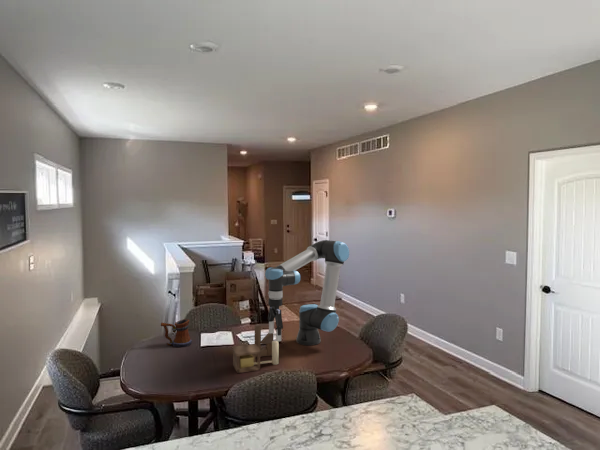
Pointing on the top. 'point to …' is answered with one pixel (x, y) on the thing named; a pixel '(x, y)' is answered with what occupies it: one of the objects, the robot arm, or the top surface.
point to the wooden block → (263, 341)
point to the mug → (179, 333)
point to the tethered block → (249, 361)
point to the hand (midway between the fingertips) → (274, 337)
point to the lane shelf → (245, 350)
